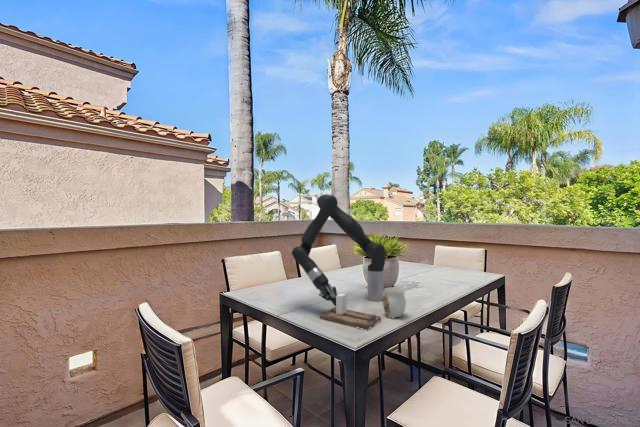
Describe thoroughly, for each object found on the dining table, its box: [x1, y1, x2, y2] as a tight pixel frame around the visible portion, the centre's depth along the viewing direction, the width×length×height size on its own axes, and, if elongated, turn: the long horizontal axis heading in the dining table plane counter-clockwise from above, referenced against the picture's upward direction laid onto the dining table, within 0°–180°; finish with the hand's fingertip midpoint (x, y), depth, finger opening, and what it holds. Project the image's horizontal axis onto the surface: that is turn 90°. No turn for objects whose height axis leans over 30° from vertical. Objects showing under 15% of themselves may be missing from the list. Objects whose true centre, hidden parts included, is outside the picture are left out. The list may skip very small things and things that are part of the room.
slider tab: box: [335, 293, 348, 315], centre depth 154 cm, size 5×3×9 cm, turn 145°
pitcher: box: [382, 286, 406, 318], centre depth 157 cm, size 11×18×14 cm, turn 15°
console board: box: [319, 306, 382, 330], centre depth 151 cm, size 14×26×4 cm, turn 55°
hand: (337, 305), depth 155 cm, fingers closed
